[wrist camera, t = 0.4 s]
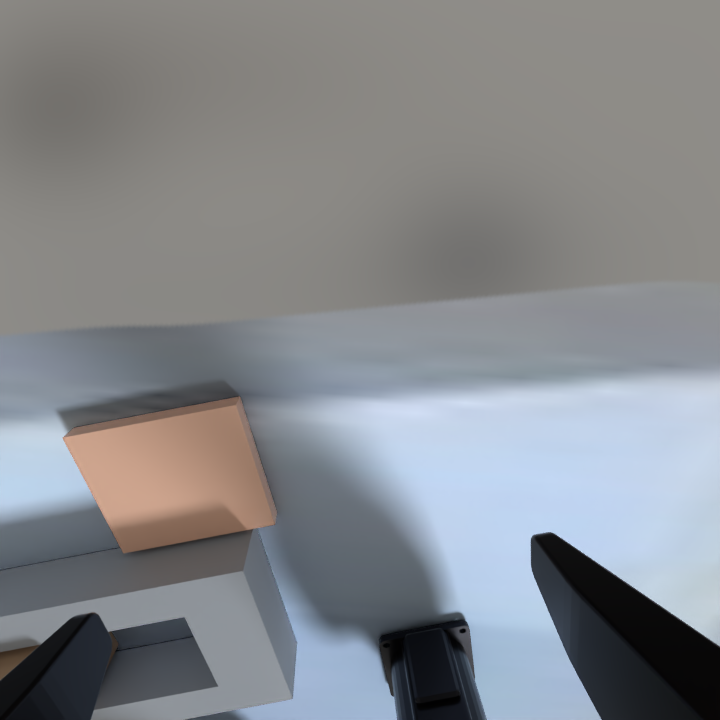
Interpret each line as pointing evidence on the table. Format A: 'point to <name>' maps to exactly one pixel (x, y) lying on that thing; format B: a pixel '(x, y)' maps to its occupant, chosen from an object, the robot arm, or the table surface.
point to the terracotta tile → (175, 474)
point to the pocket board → (161, 603)
